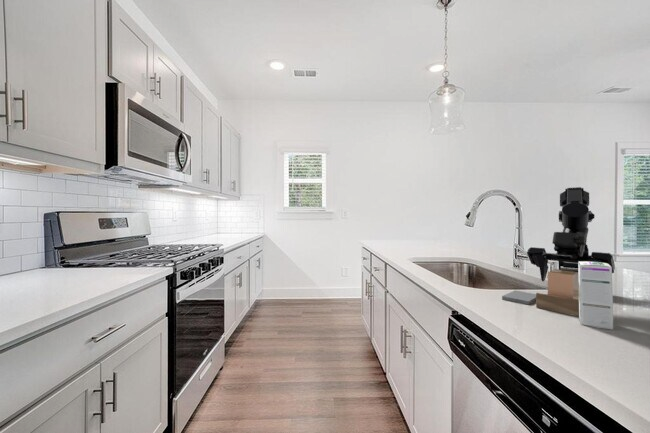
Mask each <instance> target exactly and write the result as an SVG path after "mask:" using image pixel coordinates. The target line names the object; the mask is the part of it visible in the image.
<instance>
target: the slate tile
mask: <svg viewBox="0 0 650 433" xmlns="http://www.w3.org/2000/svg"><path fill="white" fill-rule="evenodd" d="M501 299H502V300H503V301H509V302H513V303H518V304H522V305H523V304H524V305H528V306H529V305H531V304H533V303H535V302H536V293H531V292H526V291H521V290H513V291H511V292H508V293H506V294H504V295H502V296H501ZM534 301H535V302H534Z"/></svg>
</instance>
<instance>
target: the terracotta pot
mask: <svg viewBox="0 0 650 433" xmlns="http://www.w3.org/2000/svg"><path fill="white" fill-rule="evenodd" d="M547 294H548V295H552V296H558V297H563V298H569V299H575V300H579V281H578V272H576V271H568V270H560V269H559V268H555V269H551V270H549V271H547Z"/></svg>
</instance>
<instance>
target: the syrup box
mask: <svg viewBox="0 0 650 433" xmlns="http://www.w3.org/2000/svg"><path fill="white" fill-rule="evenodd" d="M578 281H579V316H578V319H579V321H580V324H581V325H583V326H588V327H593V328H599V329H605V330H612V331H613V330H614V296H613V295H614V294H613V273H612V267H611V266H610V265H609V264H608V263H602V262H589V261H583V262H580V261H579V262H578Z"/></svg>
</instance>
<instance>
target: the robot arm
mask: <svg viewBox="0 0 650 433" xmlns="http://www.w3.org/2000/svg"><path fill="white" fill-rule="evenodd" d="M564 189H565V191H563V192H560V193H559V206H560V207H561V210H559V211H558V223H561V225H562V227H563V230H562V231H554V232H553V236H552V244H553V245H554V247H553V249H554V251H555V252H556V253H554V252H547V251H546V248H544V247H529V248H528V249H527V252H526V255H527V257H528V259H529V261H530V264H531V265H533V266H536V267H537V268H539V272H540V278H541V279H540V280H541V281H542V282H545V281H546V278H547V276H548V272H549V271H548V270H549V265H548V264H549V261H553V262H554V261H555V262H558V269H560V270H568V271H576V272H578V262H579V261H580V262H583V261H589V262H602V263H608V264H609V265H610V266H611V267H612V274H614V273H615V269H616V266H615V264H616V263H615V259H614V256H613V254H612V253H610V252H602V251H601V252H600V251H599V252H598V251H591V253H590V254H589V248H588V244H587V240H588V234H589V227H588V225H589V223H592V222H593V220H595V214H594V213H593V212H592V210H590V208H589V207H590V192H588V191H587V190H585V189H584V187H581V186H580V187H578V186H577V187H567V188H564Z"/></svg>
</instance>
